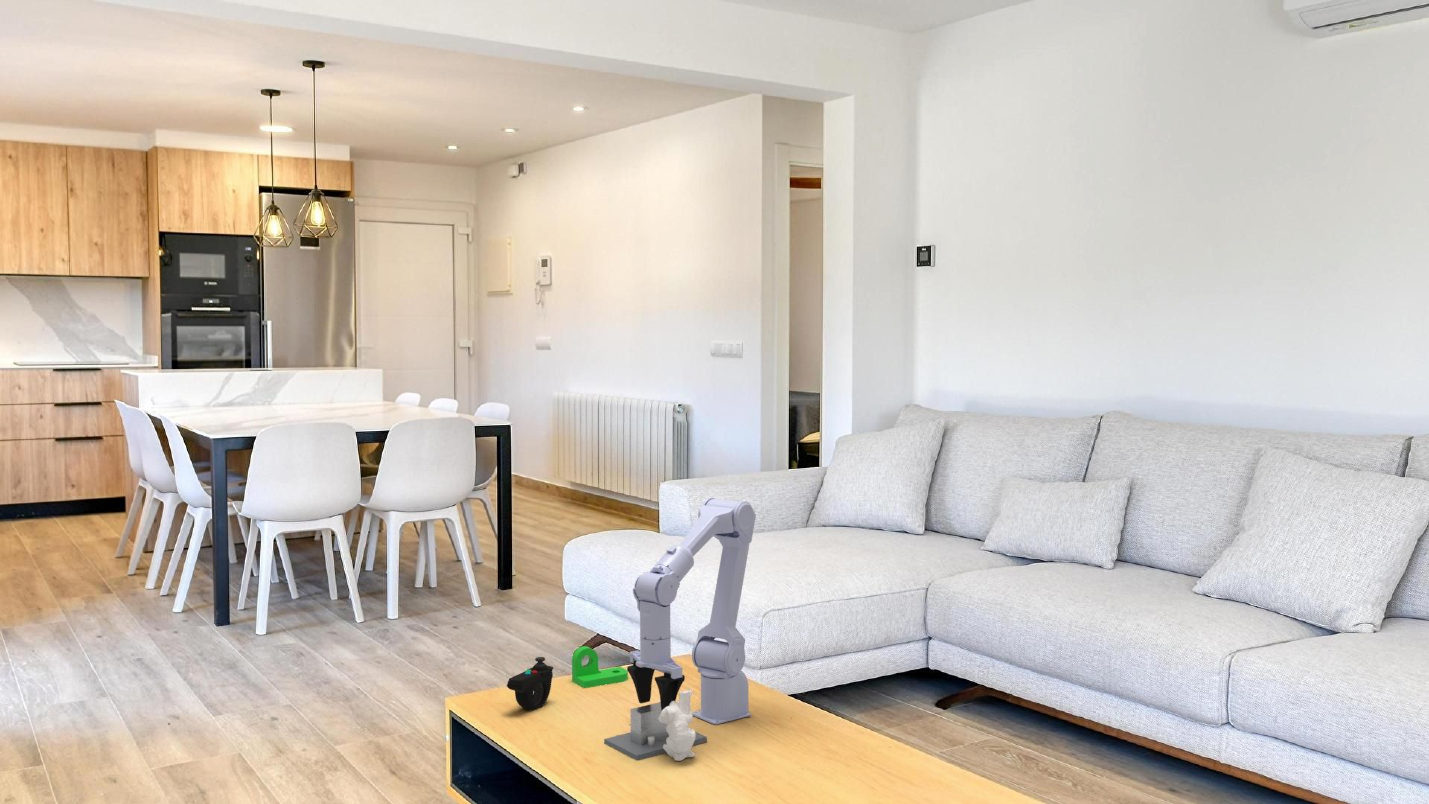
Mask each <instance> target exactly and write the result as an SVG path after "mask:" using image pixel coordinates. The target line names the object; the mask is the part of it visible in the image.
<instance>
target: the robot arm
mask: <svg viewBox="0 0 1429 804" xmlns="http://www.w3.org/2000/svg"><path fill="white" fill-rule="evenodd" d="M697 515H698V516H697V518H698V519H697V520H696V521H695V523H694V524H693V525H692V527H691V528H690V530H689V531H688V533H687V534H686V535H685V537H684V538H683V540H682V541H681V542H680V544H679V545H678V544H676V545H672V546H669V547H667V549H666V552H664V554H663V555H662V556H661V557H660V558H659V560H658V561H657V562H656V564H655V565H653V567H652V568H651V569H650V571H645V572H643V573H642V574H640V575H638V577H636V580H635V583H634V587H633V588H632V594H633V597H634V599H635V601H636V603H637V604H636V605H637V606H636V607H637V610H638V612H639V638H640V639H639V640H640V641H639V642H640V643H639V644H640V645H639V646H640V649H639V650H638V649H637V650H633V651H630V652H629V662H630V663H632V664H631V665H629V666H627V669H626V670H627V671H628V675H630V677H631V679H632V682H633V685H634V687H635V688H634V689H635V692H636V695H637V700H638V703H639V704H646V703H649V702H650V701H651V697H652V687H653V686H652V685H653V679H654V681H655V683H656V685H657V688H658V692H659V701H660V702H661V710H663V709H664V708H665V707H667V706H670V703H671V702H672V701H676V700H677V698H678V694H679V691H680V689H681V687H682V685H683V683H684V682H685V680H686V676H685V675H684V674H683V667H682V666H680V665H679V664H677V662H676V661H675V660H674V659H673V658H672V657H671V652H672V649H671V646H672V645H671V643H672V642H671V638H672V637H671V604H672V603H673V602H674V601H675V600H676V597H677V593H678V590H679V588H680V584H681V583H680V582H682V580H683V579H684V578H685V576H687V574H688V573H689V571H691V569H692V568H693V566H694V564H695V561H694V556H695V555H696V554H698V552H700V550H702V548H703V547H705V545H706V544H707V543H708V542H709V541H711V539H713V537H714V538H715V539H716V540H718V542H719V543H720V545H721V547H722V550H721V555H720V556H721V557H720V561H719V568H718V573H717V579H716V583H715V590H714V596H713V603H712V608H711V614H710V620H709V623H708V624H706V625H705V626H704V627H702V628H700V629H699V630H698V633H697V638H696V641H695V643H694V645H693V647H692V650H691V660H692V663H693V665H694V667H696V668H697V673H699V674H700V710H698V711H697V710H696V711H692V715H693V717H695V718H698V719H701V720H703V721H705V722H707V723H709V724H712V725H715V726H716V725H720V724H724V723H728V722H731V721H735V720H739V719H743V718H747V717H751V716H752V713H751V712H749V681H748V678H747V676H746V674H745V673H744V671H742V669H743V668H744V667H745V666H744V665H745V662H746V652H745V644H746V638H745V637H744V636H743V635H742V633H741V632H740V630H738V629H737V627H736V626H737V619H738V614H739V608H740V605H741V604H740V602H741V596H742V590H743V586H744V580H745V579H744V578H745V573H746V566H747V561H748V555H749V550H750V544H751V543H752V540H753V535H754V530H755V529H754V528H755V522H756V517H757V516H756V515H757V514H756V512H755V510H754V508H753V507H752V505H751V503H750V502H748V501H743V500H742V501H739V500H730V499H721V498H720V499H719V498H715V497H708V498H707V499H705V501H703V503H702V505H701V506H700V507H699V508H698V513H697ZM717 639H722V640H725V641H722V640H717ZM655 671H657V672H660V673H663V675H659V676H655V677H654V674H655ZM676 702H677V701H676Z"/></svg>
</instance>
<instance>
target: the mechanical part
mask: <svg viewBox="0 0 1429 804" xmlns="http://www.w3.org/2000/svg"><path fill="white" fill-rule="evenodd" d="M585 657H588V661H587V663H586V664H585V665H582V662H583V659H584V658H585ZM628 678H629V672H628V671H627V669H625V668H624V667H622V666H617V667H610V668H604V669H599V655H598V652H596V650H595V649H593V648H591V647H589V646H587V645H586V646H585V645H584V646H580V647H578V648H577V649H576V650H575V651H574V653H573V655H572V657H571V681H572V683H574V684H576V685H577V686H579V687H580V688H583V689H588V688H595V687H600V685H601V686H606V685H605V684H607V685H612V684H617V683H623V682H626V681H628Z"/></svg>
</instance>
